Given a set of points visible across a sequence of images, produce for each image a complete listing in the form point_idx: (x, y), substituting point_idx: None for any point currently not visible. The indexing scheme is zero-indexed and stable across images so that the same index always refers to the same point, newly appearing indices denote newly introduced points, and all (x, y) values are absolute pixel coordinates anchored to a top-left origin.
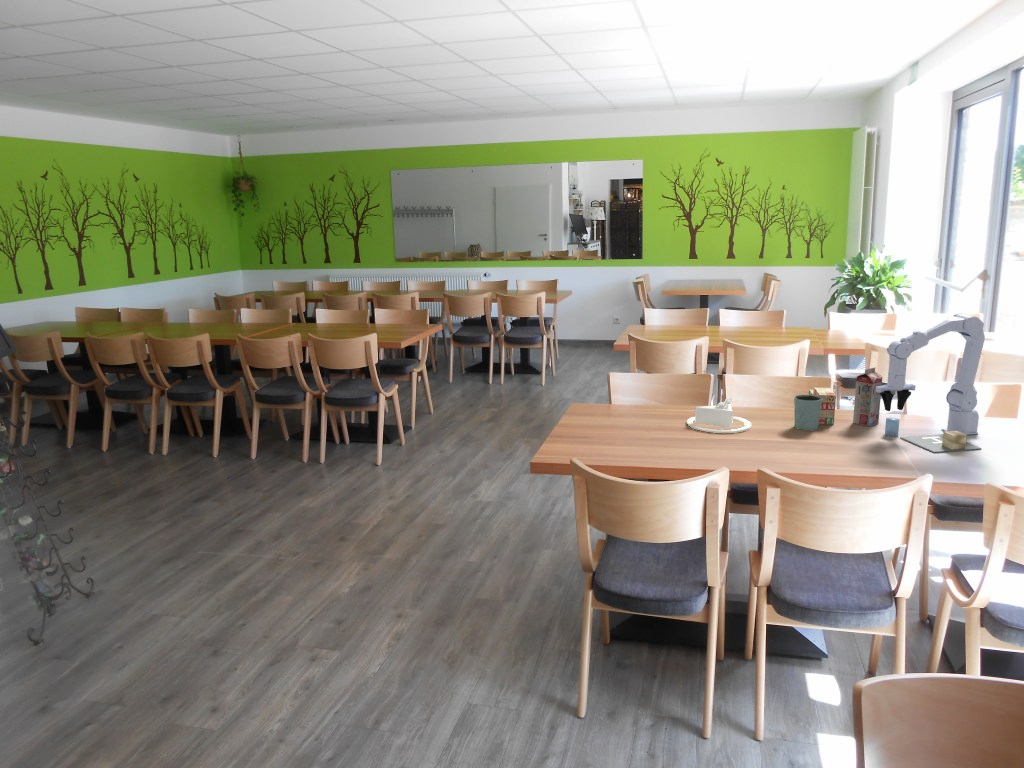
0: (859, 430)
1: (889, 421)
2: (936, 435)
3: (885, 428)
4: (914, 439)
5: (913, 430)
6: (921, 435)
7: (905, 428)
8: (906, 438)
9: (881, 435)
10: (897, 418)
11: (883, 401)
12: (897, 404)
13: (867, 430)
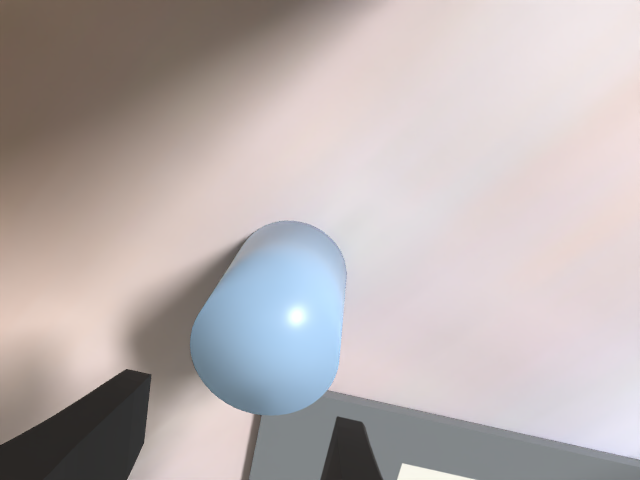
0: (109, 34)
1: (198, 357)
2: (571, 476)
3: (228, 267)
4: (315, 469)
5: (590, 266)
6: (462, 428)
7: (591, 183)
8: (280, 429)
9: (190, 254)
10: (335, 358)
11: (11, 445)
12: (339, 459)
13: (185, 71)
